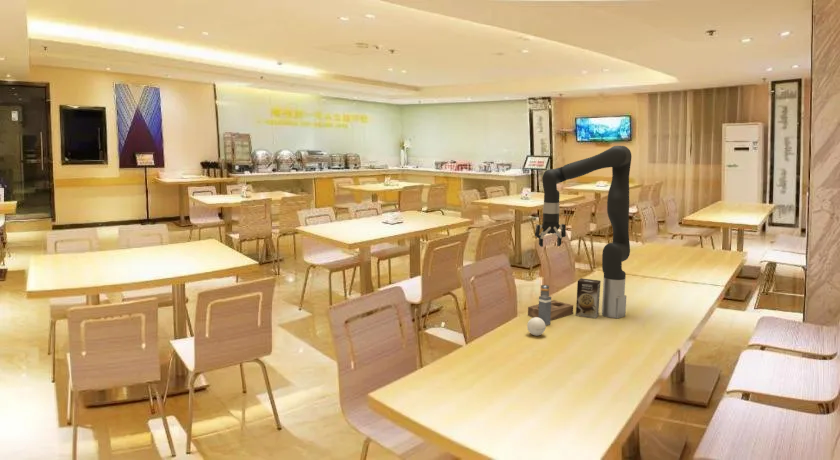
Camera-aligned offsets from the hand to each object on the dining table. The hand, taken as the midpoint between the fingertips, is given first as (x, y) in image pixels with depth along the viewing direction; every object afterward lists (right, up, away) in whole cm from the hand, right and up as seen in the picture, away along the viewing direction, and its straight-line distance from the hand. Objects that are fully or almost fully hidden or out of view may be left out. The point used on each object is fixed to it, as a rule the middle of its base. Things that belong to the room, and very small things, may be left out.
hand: (549, 246), depth 283 cm
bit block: (-3, -30, -13) cm, 33 cm away
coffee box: (+14, -31, -14) cm, 36 cm away
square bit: (-8, -33, -27) cm, 43 cm away
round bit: (-6, -31, -16) cm, 35 cm away
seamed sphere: (-13, -35, -41) cm, 55 cm away
